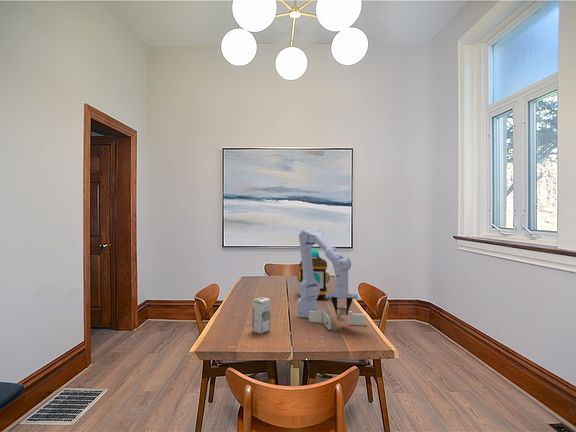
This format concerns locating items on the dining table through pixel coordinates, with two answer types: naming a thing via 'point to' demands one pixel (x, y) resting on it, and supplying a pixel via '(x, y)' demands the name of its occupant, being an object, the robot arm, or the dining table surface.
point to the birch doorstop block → (341, 313)
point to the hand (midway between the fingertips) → (341, 314)
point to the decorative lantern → (317, 272)
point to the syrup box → (261, 315)
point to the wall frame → (353, 318)
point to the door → (326, 320)
